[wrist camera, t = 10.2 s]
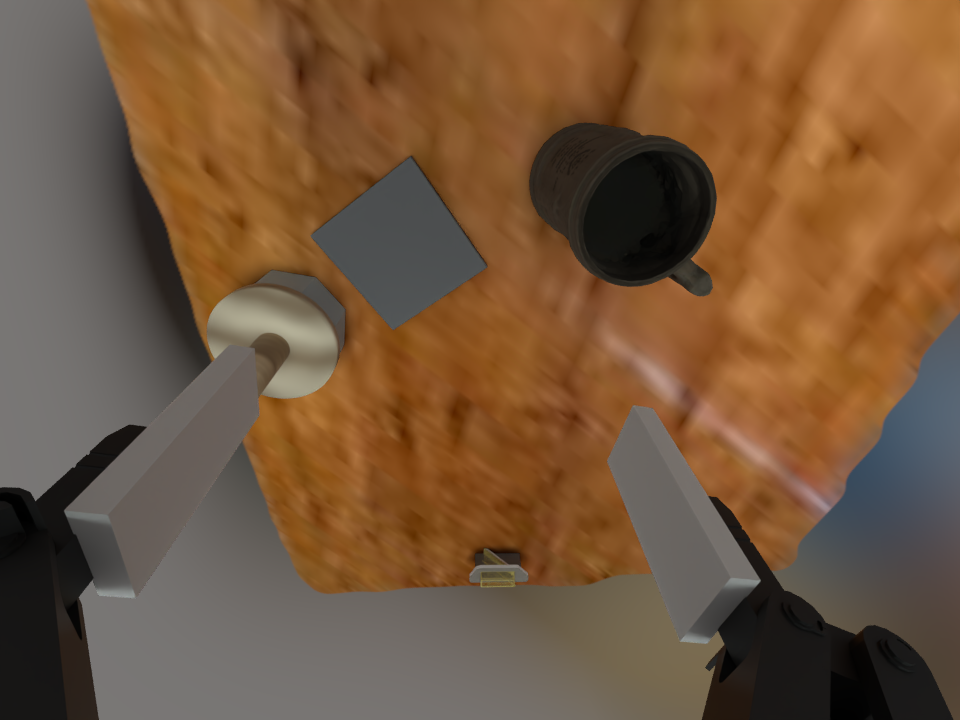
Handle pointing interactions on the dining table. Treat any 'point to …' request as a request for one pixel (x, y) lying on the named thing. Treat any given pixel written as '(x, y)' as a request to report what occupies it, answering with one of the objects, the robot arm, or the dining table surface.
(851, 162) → the dining table surface
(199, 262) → the dining table surface
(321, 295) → the bowl
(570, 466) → the dining table surface
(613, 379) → the dining table surface
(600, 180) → the beer stein
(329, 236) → the mat
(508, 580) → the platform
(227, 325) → the lid
